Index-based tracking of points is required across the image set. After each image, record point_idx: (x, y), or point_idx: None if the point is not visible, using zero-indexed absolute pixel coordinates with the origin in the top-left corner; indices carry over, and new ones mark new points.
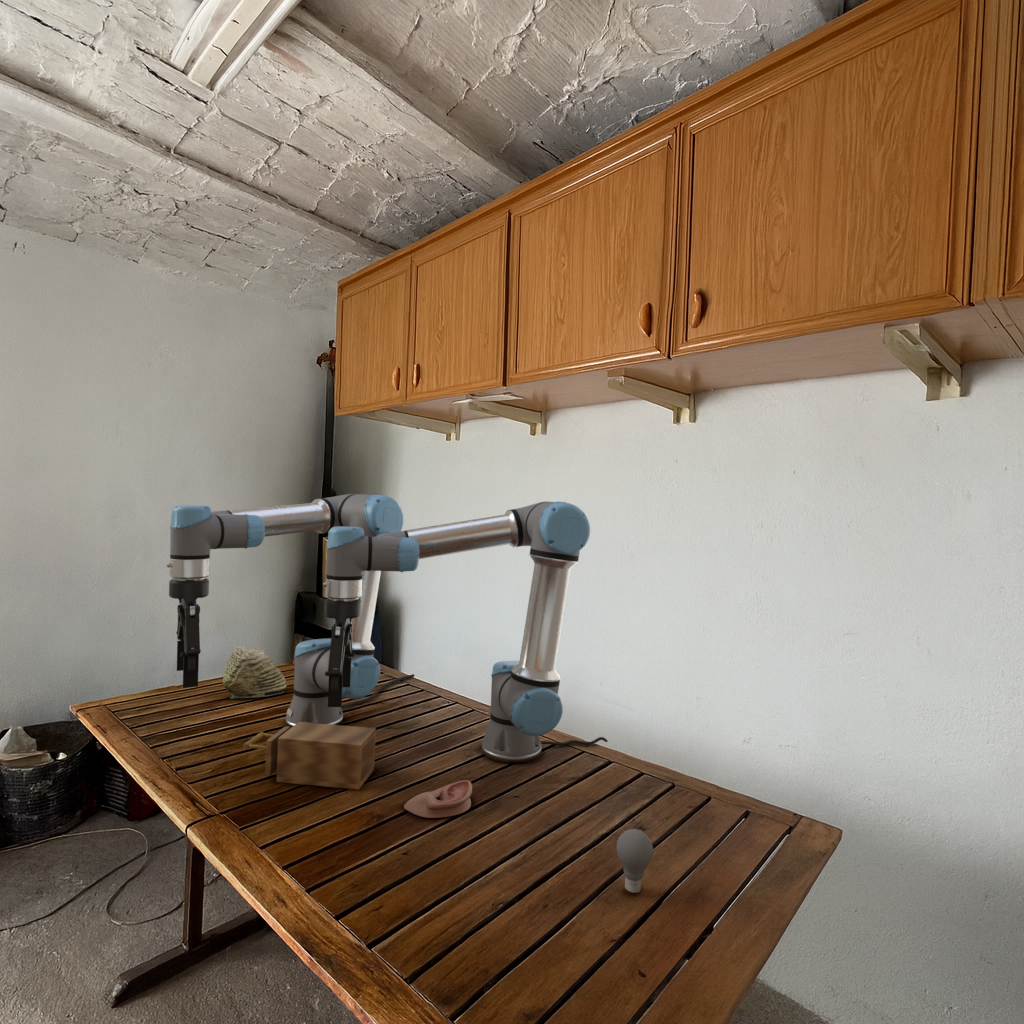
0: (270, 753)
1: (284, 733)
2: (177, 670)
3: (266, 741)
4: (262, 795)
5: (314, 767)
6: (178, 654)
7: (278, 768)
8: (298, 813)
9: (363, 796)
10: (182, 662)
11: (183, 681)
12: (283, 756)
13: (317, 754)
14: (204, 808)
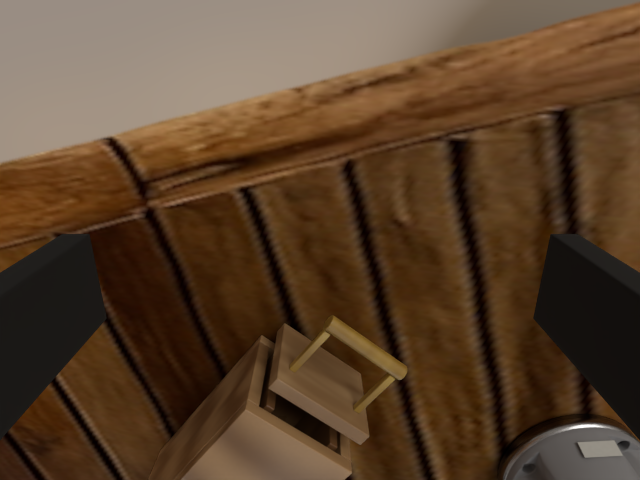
0: (272, 364)
1: (274, 428)
2: (550, 239)
3: (277, 377)
4: (205, 298)
5: (201, 421)
6: (637, 306)
7: (254, 356)
8: (95, 341)
9: (129, 449)
10: (577, 298)
11: (32, 254)
12: (243, 385)
13: (189, 450)
14: (186, 180)
